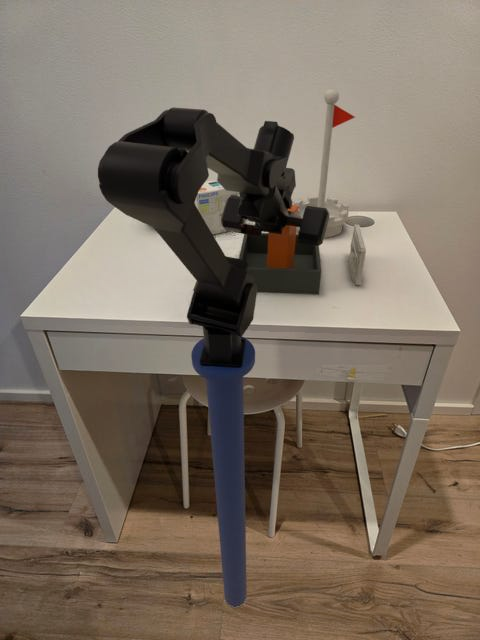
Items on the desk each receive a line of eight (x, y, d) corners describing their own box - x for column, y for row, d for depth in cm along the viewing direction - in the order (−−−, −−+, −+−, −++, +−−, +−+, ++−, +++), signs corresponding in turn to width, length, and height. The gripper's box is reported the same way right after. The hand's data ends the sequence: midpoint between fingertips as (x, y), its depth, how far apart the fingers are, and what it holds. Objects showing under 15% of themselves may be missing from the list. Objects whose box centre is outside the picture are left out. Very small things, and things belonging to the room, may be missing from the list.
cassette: (347, 256, 93) (351, 222, 89) (355, 256, 93) (361, 223, 89) (352, 286, 84) (358, 250, 79) (362, 286, 84) (369, 250, 79)
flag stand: (287, 236, 101) (295, 93, 84) (295, 215, 112) (303, 83, 94) (344, 242, 99) (365, 95, 81) (347, 219, 109) (366, 84, 91)
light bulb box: (229, 219, 110) (227, 176, 104) (241, 229, 105) (240, 185, 99) (189, 227, 106) (185, 184, 100) (200, 238, 102) (196, 193, 95)
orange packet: (285, 278, 86) (290, 215, 78) (266, 274, 87) (269, 212, 79) (293, 266, 89) (298, 205, 82) (275, 262, 91) (278, 202, 83)
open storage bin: (318, 294, 82) (321, 271, 79) (237, 291, 83) (236, 268, 80) (315, 255, 94) (317, 234, 91) (244, 253, 95) (244, 232, 92)
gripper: (333, 162, 68) (340, 204, 83) (225, 150, 74) (249, 192, 89) (315, 228, 67) (325, 259, 82) (207, 211, 73) (234, 243, 88)
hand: (282, 236), depth 85 cm, fingers open, 9 cm apart
